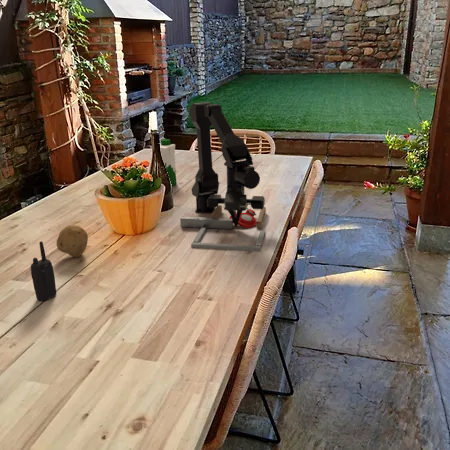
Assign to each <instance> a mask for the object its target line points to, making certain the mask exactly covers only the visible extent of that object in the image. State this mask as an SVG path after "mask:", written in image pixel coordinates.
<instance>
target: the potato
mask: <svg viewBox="0 0 450 450" xmlns="http://www.w3.org/2000/svg"><path fill="white" fill-rule="evenodd" d="M88 241H89V235H88V233H87V231H86V230H85V229H84V228H83V227H81V226H80V225H72V224H71V225H67V226H65V227H64V228H63V229H61V230H60V231H59V235H58V236H57V239H56V248H57V249H58V251H59V252H61V253H65V254H67V255H69V256H70V257H73V258H79V257H80V256H82V255H83V254H84V253H85V250H86V249H87V246H88Z"/></svg>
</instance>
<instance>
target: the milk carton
mask: <svg viewBox="0 0 450 450" xmlns="http://www.w3.org/2000/svg"><path fill="white" fill-rule="evenodd" d="M159 144H160V148H161V154H162V159H163V162H164V165H165V167H166V170H167V172H168V175H169V178H170V181H171V184H172V187H174V186H176V185H177V176H176V175H177V174H176V172H177V171H176V157H175V155H176V154H175V153H176V144H175V143H171V139H170V138H169V139H168V138H164V139H163V138H162V139H161V140H160V143H159Z"/></svg>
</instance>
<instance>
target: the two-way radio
mask: <svg viewBox="0 0 450 450" xmlns="http://www.w3.org/2000/svg"><path fill="white" fill-rule="evenodd" d="M39 251H40V257H41V259H40V260H39V259H38V258H37V257H33V258H32V263H31V264H30V273H31V274H30V275H31V280H32V283H33V284H32V285H33V289H34V293H35V297H36V299H37V301H38V302H39V301H40V302H43V301H47V300H49V299H51V298H53V297H55V296H56V295H57V287H56V280H55V279H56V278H55V272H54V271H55V270H54V266H53V264H52V262H51V260H49V258H47V257H46V251H45V246H44V243H43V241H39Z"/></svg>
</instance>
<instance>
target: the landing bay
mask: <svg viewBox="0 0 450 450" xmlns="http://www.w3.org/2000/svg"><path fill="white" fill-rule="evenodd" d="M206 231H207V228H204V227H202V228H200V229H199V231H198V232H197V234H196V235H195V237H194V239H193V240H192V242H191V244H190V246H191V247H190V248H197V249H198V248H200V249H201V248H202V249H203V248H204V249H217V250H220V249H221V250H235V251H251V252H252V251H253V252H255V251H256V252H261V249H262V245H263V242H264V239H265V238H264V237H265V235H266V230H263V229H260V230H259V234H258V236H257V237H258V238H257V241H256V243H255V245H249V244H248V245H247V244H229V243H228V244H227V243H212V242H210V243H209V242H200V241H201V240H202V238H203V236H204V235H205V233H206Z"/></svg>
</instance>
